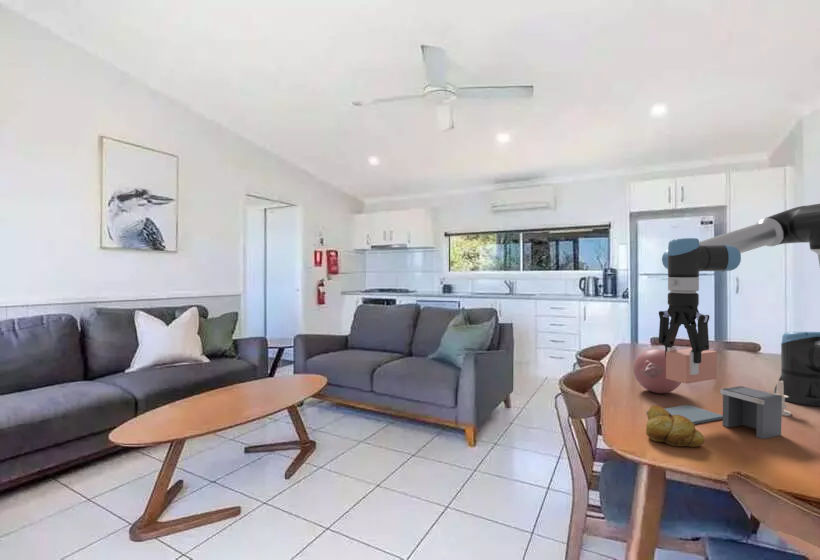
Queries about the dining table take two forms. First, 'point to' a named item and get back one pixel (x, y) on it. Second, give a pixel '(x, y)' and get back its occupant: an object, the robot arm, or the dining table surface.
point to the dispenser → (752, 410)
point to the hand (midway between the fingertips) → (682, 371)
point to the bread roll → (672, 428)
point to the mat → (694, 413)
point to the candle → (781, 392)
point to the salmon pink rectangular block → (681, 366)
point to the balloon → (653, 372)
